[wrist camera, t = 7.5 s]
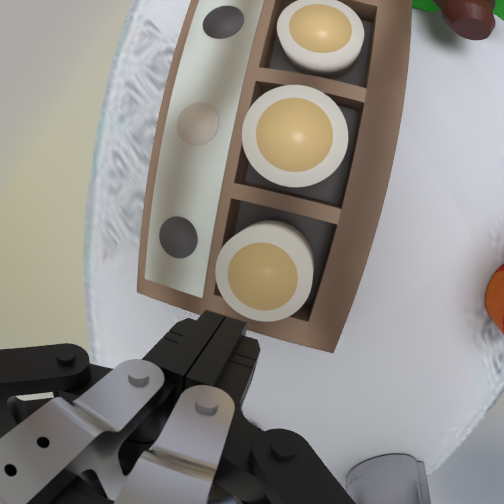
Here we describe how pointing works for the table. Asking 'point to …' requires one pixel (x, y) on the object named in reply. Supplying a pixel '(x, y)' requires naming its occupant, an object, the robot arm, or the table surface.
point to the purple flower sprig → (466, 15)
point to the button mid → (295, 136)
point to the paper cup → (496, 298)
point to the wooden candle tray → (254, 184)
